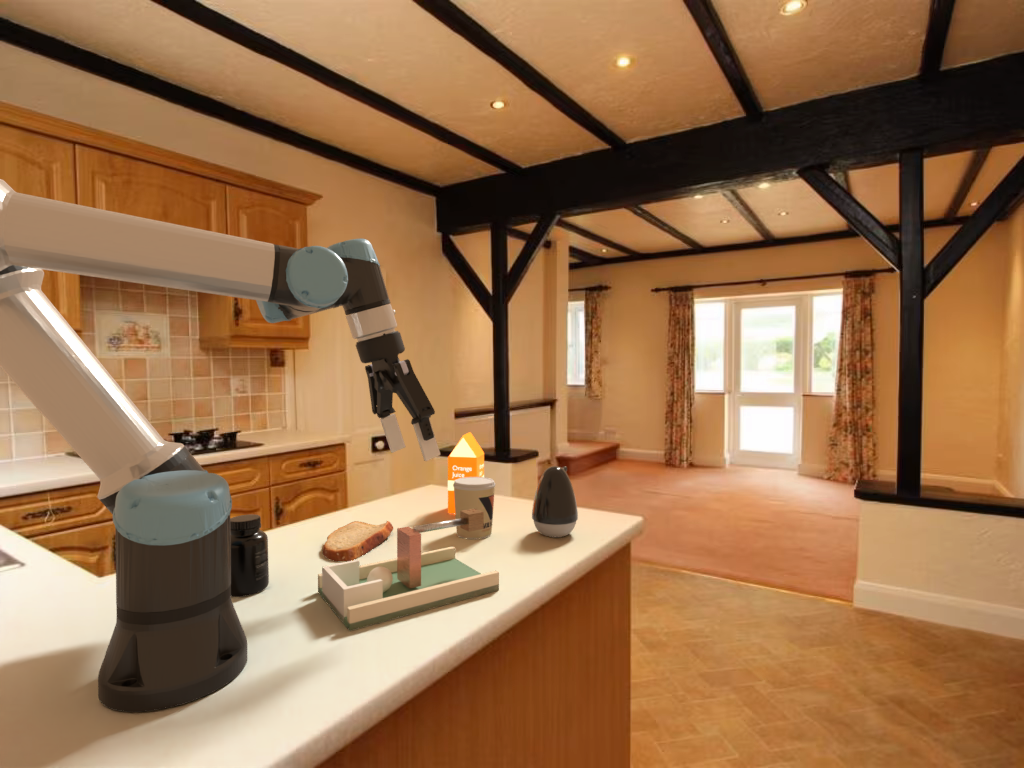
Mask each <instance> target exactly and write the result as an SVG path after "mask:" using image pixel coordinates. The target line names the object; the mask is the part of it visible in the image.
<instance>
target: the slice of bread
mask: <svg viewBox="0 0 1024 768" xmlns="http://www.w3.org/2000/svg"><path fill="white" fill-rule="evenodd" d="M393 530H394V526H393V524H392V523H391V522H390V521H389V520H386V521H385V522H383V523H381V524H371V523H367V522H364V521H359V520H357V521H356V520H354V521H352V522H349V523H347V524H346V525H343V526H341V527H338V528H337V529H336V530H335V529H334V531H332V532H331V533H330V534H329V535H328V536H327V537H326V538H327V539H326V541H325V542H324V543H323V548H322V555H323V557H325V558H326V559H328V560H329V559H330V560H329V561H333V560H334V561H333V562H338V561H347V562H348V561H351V560H354V559H355V560H358V559H359V558H361V557H363V556H365V555H367V554H369V553H370V552H371V551H373V550H374V549H375V548H377V547H378V546H380V545H381V544H382V543H383V542H385V541H386V540H387V539H388V538H389V537H390V536H391V533H393ZM372 549H373V550H372ZM366 553H367V554H366ZM362 555H363V556H362ZM358 557H359V558H358Z"/></svg>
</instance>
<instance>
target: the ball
mask: <svg viewBox="0 0 1024 768" xmlns="http://www.w3.org/2000/svg"><path fill="white" fill-rule="evenodd" d="M379 579H381V580H382V581H383V592H385V591H387V590H388V589H389V588H390V586H391V585H392V581H393V577H392V573H391V572H390V570H389V569H387V568H385V567H376V568H374V569H373V570H372V571H371V572H370V573H369V575H368V577H367V582H370V581H374V580H379Z"/></svg>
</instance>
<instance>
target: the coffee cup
mask: <svg viewBox="0 0 1024 768" xmlns="http://www.w3.org/2000/svg"><path fill="white" fill-rule="evenodd" d="M453 487H454V499H455V514H454V515H455V519H460V511H463V510H469V509H477V510H480V511H482V512H484V529H481V530H475V531H470V532H468V531H466V530H464V529H462V528H460V526H455V528H456V535H457V537H459V538H461V539H464V538H467V539H466V540H480V539H479V538H482V539H486V538H489V537H491V535H492V530H493V520H494V519H493V516H494V503H495V488H496V482H495V480H494V479H493V478H489V477H485V476H484V477H464V478H459V479H456V480H455V481H454V484H453ZM488 536H489V537H488ZM485 537H486V538H485Z"/></svg>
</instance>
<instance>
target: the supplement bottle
mask: <svg viewBox="0 0 1024 768" xmlns="http://www.w3.org/2000/svg"><path fill="white" fill-rule="evenodd" d="M261 519H262V518H261V515H259V514H252V513H251V514H241V515H237V516H233V517H230V540H231V597H232V598H233V597H235V598H237V597H240V598H242V597H248V596H252V595H255V594H258V593H261V592H262V591H264V590H266V589H267V587H268V586H269V583H270V581H269V580H270V577H269V576H270V574H269V573H270V572H269V570H270V569H269V548H268V547H269V543H268V542H269V541H268V540H269V539H268V535H267V534H266V532H265V531H263V530H261V528H262V523H261V522H262V521H261Z"/></svg>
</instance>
